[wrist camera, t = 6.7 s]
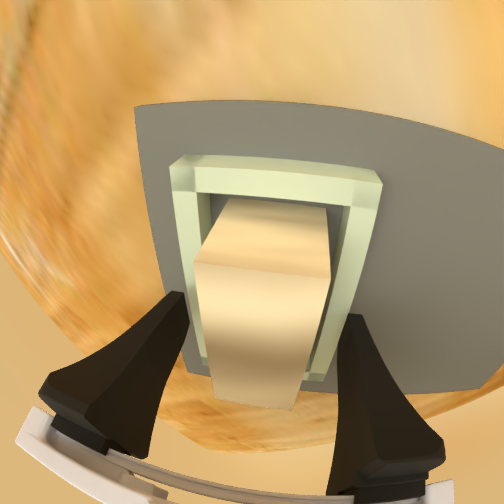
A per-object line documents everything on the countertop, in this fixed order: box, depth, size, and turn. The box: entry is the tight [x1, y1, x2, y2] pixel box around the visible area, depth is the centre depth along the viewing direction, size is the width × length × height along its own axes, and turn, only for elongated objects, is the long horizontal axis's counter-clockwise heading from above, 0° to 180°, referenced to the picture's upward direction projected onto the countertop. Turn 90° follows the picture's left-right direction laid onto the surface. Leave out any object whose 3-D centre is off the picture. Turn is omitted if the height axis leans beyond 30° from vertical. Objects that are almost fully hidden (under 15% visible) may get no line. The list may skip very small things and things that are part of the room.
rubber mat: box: [134, 100, 504, 394], centre depth 14 cm, size 26×19×1 cm
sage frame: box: [169, 155, 383, 382], centre depth 14 cm, size 8×13×2 cm, turn 179°
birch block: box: [193, 198, 331, 411], centre depth 13 cm, size 9×4×4 cm, turn 179°
